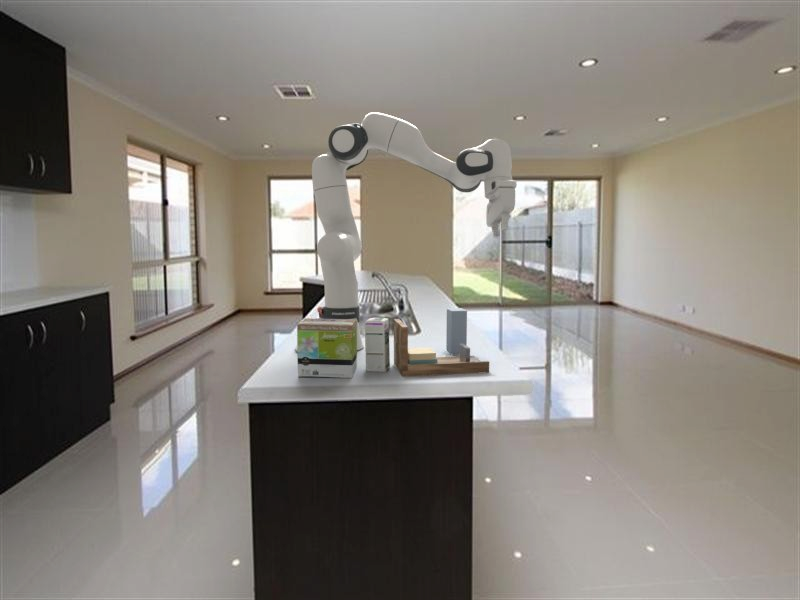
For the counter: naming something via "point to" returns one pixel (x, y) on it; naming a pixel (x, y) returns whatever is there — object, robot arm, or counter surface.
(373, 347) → the syrup box
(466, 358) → the bookend
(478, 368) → the shelf
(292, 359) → the counter surface
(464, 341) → the light blue upright block
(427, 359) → the book stack
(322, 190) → the robot arm
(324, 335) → the tea box
